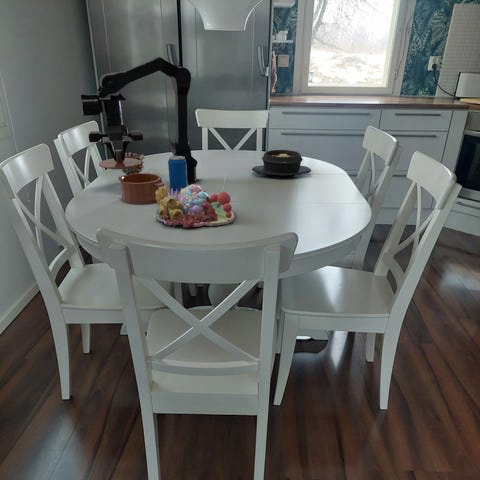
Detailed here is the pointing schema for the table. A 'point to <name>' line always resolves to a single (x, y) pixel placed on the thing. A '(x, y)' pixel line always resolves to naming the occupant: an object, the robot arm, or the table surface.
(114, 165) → the pot lid
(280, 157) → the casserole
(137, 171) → the pine cone
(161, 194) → the candy landscape model
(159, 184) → the pot
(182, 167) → the beverage can
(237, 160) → the table surface
